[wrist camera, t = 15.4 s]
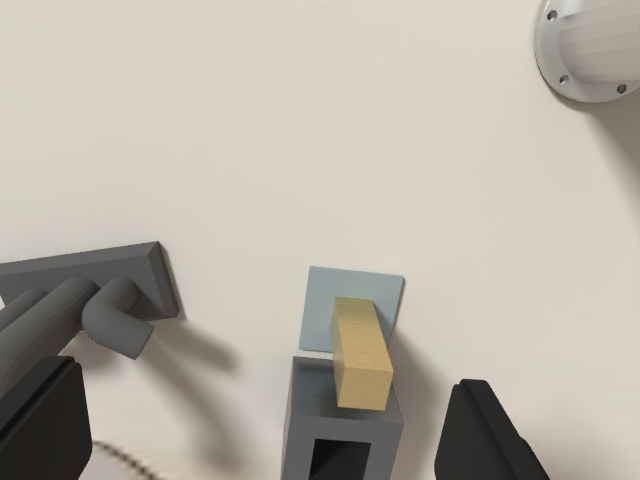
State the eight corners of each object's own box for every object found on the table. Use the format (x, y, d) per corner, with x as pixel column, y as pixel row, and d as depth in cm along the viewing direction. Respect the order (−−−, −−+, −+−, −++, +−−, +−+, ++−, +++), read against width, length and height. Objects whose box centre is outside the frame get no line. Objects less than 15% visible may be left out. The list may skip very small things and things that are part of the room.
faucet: (46, 387, 48) (-121, 579, 29) (-10, 265, 42) (-261, 405, 24) (199, 366, 48) (129, 548, 29) (162, 240, 42) (46, 362, 23)
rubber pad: (402, 276, 44) (403, 278, 44) (384, 353, 48) (385, 357, 47) (309, 266, 44) (310, 268, 43) (299, 345, 47) (299, 348, 46)
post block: (386, 364, 48) (403, 423, 40) (370, 437, 52) (382, 504, 43) (293, 356, 47) (290, 414, 39) (283, 430, 51) (279, 497, 43)
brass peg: (371, 299, 44) (393, 371, 33) (365, 331, 46) (384, 410, 35) (335, 296, 44) (345, 366, 33) (329, 328, 46) (337, 406, 34)
